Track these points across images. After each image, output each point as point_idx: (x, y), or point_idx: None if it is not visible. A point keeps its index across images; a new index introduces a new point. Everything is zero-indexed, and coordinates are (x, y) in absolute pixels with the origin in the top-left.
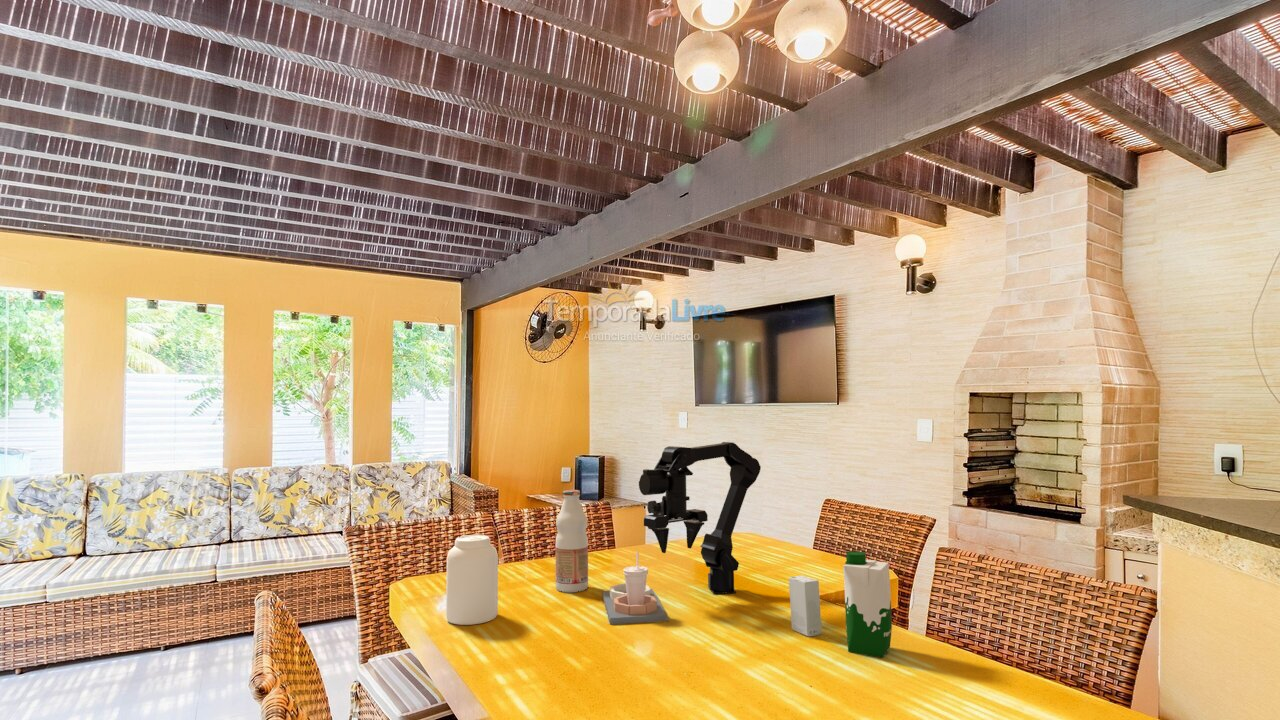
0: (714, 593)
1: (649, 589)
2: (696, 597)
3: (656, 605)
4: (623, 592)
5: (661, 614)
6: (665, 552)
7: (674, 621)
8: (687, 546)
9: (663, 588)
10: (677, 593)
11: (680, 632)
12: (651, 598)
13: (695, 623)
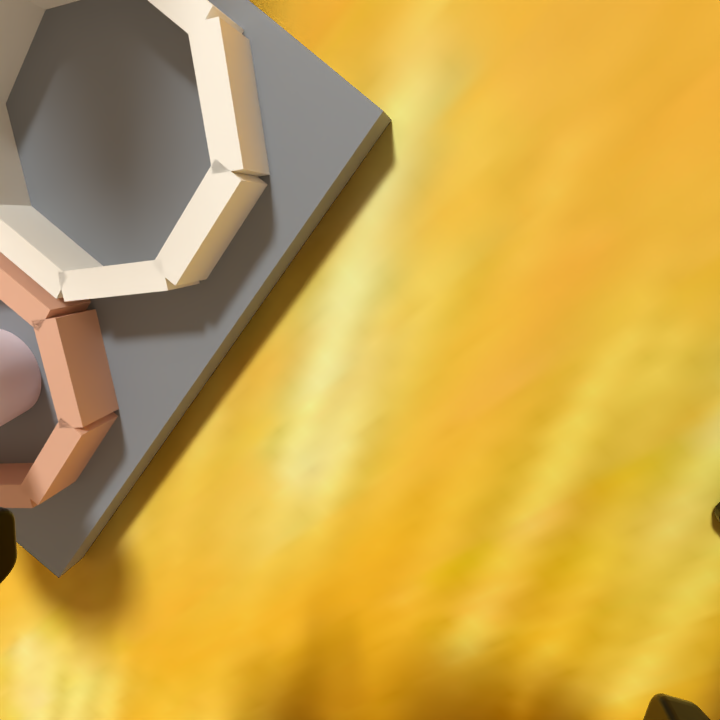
0: (715, 515)
1: (170, 282)
2: (550, 444)
3: (52, 495)
4: (140, 8)
5: (42, 550)
6: (5, 573)
7: (107, 583)
8: (665, 716)
9: (617, 41)
10: (553, 261)
11: (39, 671)
12: (44, 446)
13: (158, 672)
